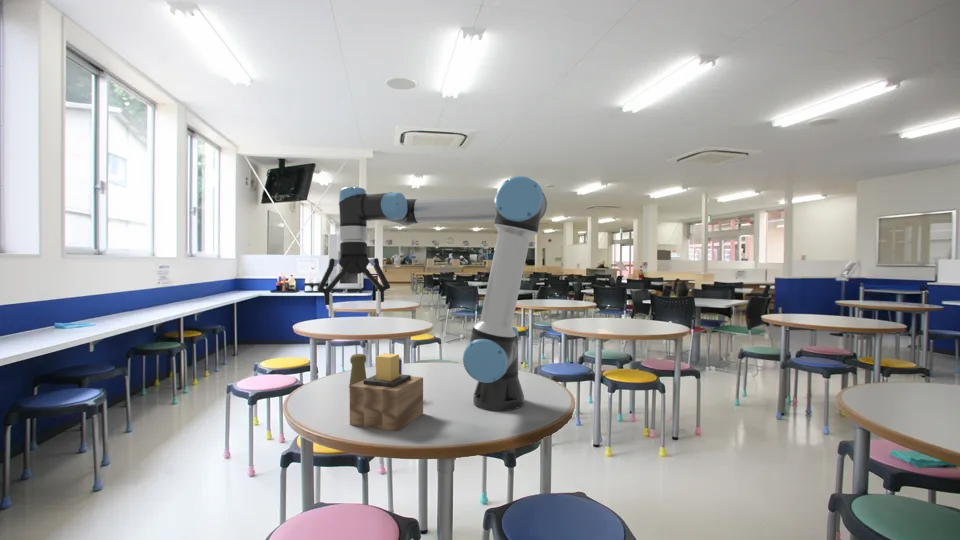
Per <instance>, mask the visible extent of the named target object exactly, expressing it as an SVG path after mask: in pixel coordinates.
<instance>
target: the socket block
mask: <svg viewBox="0 0 960 540" xmlns="http://www.w3.org/2000/svg"><path fill="white" fill-rule="evenodd" d="M366 378H367V379H365V380H362V381H360V382H358V383H355V384H353V385H351V386H350V388H349V426H350V425H351V426H356V427H357V426H358V427H365V428H370V429H371V428H372V429H377V430H378V429H379V430H385V431H393V432H399V431H400V430H401V429H403V428H404V427H406V426H407V425H409V424H411V423H412V422H413V421H414V420H416V419H417V418H419V417H420V416H422V415H424V377H421V376H412V375H411V374H403V373H402V374H399V378H397V379H395V380H393V381H384V380H376V374H375V375H372V376H369V377H366Z"/></svg>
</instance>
